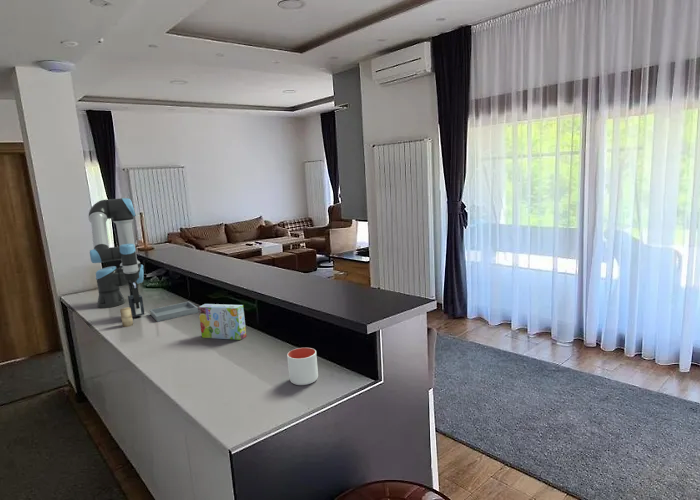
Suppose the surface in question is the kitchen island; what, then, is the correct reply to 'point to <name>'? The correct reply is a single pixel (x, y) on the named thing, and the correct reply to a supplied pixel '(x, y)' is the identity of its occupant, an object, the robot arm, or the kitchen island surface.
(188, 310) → the grey tray
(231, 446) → the kitchen island surface
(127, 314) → the canister
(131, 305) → the box
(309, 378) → the cup
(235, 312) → the snack box
